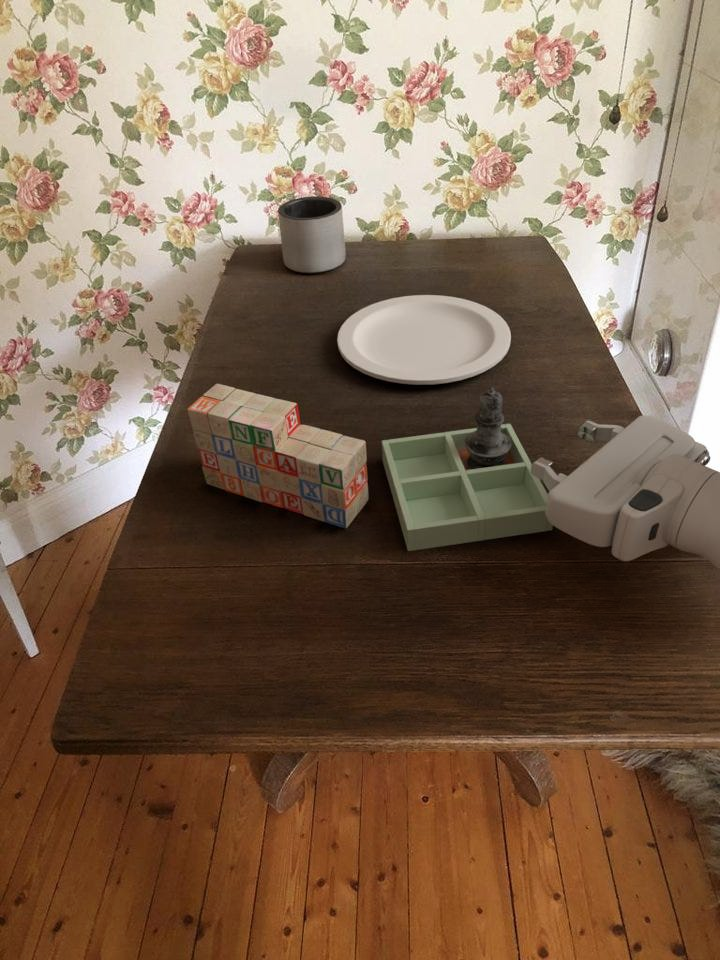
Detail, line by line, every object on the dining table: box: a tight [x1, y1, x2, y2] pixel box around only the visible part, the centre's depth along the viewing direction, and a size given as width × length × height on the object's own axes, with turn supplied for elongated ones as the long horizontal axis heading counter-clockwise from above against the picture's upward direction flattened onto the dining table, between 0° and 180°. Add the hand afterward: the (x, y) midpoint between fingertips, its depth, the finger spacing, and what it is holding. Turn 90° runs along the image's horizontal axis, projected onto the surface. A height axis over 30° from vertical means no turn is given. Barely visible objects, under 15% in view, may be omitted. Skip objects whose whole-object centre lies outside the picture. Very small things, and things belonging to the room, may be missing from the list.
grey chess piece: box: [465, 385, 511, 470], centre depth 94 cm, size 6×6×12 cm
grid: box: [381, 423, 554, 552], centre depth 94 cm, size 17×17×3 cm
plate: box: [336, 294, 512, 386], centre depth 123 cm, size 28×28×2 cm
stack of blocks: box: [187, 383, 370, 529], centre depth 93 cm, size 21×6×12 cm, turn 62°
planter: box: [277, 195, 347, 275], centre depth 148 cm, size 13×12×11 cm
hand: (558, 445), depth 87 cm, fingers open, 8 cm apart
